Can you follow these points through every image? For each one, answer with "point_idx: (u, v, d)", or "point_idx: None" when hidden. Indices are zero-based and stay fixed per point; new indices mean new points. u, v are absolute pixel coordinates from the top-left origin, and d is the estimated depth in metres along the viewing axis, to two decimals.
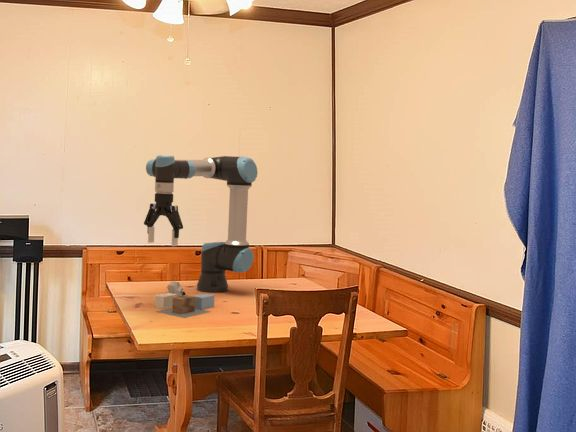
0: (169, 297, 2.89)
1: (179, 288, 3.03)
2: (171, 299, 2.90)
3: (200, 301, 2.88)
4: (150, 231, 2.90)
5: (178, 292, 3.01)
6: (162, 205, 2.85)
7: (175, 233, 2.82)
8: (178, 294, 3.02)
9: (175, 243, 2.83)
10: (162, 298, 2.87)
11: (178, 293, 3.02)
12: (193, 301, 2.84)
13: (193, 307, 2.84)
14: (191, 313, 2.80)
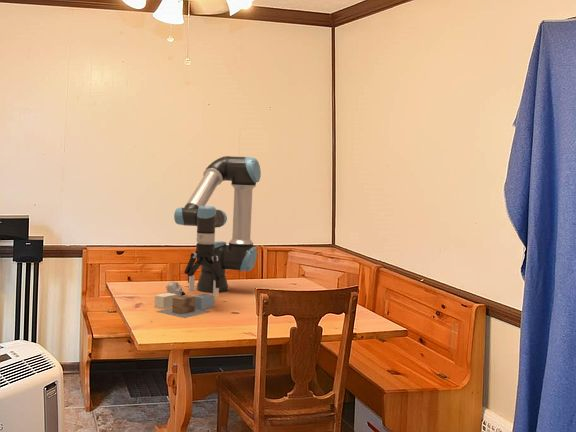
0: (169, 297, 2.89)
1: (178, 288, 3.03)
2: (171, 299, 2.90)
3: (200, 301, 2.88)
4: (191, 280, 2.95)
5: (177, 292, 3.01)
6: (203, 255, 2.90)
7: (216, 283, 2.87)
8: (177, 294, 3.01)
9: (216, 293, 2.88)
10: (162, 298, 2.87)
11: (177, 293, 3.01)
12: (193, 301, 2.84)
13: (193, 307, 2.84)
14: (191, 313, 2.80)
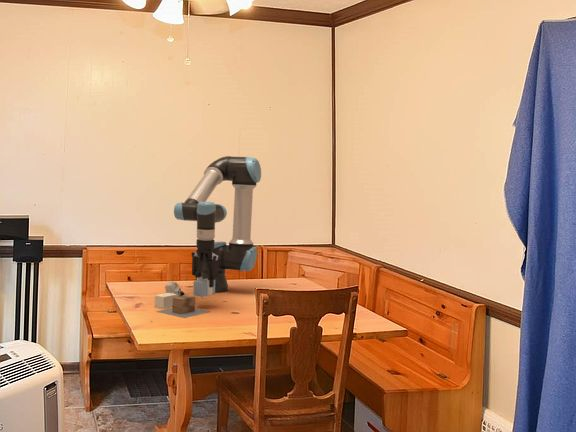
0: (169, 297, 2.89)
1: (177, 288, 3.03)
2: (171, 299, 2.90)
3: (201, 286, 2.88)
4: None
5: (175, 292, 3.01)
6: (204, 251, 2.90)
7: (210, 282, 2.90)
8: None
9: (210, 292, 2.91)
10: (162, 298, 2.87)
11: (175, 293, 3.01)
12: (193, 301, 2.84)
13: (193, 307, 2.84)
14: (191, 313, 2.80)
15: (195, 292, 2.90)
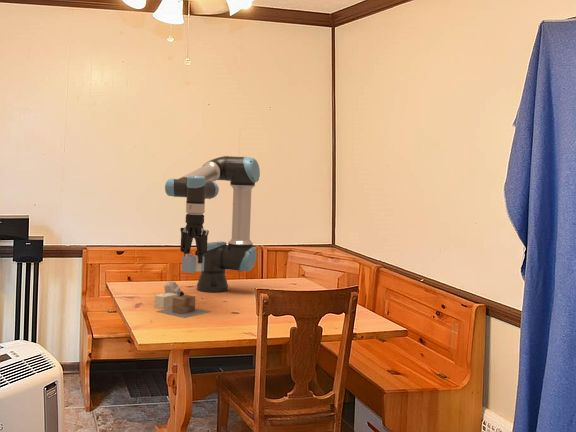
0: (169, 297, 2.89)
1: (176, 288, 3.02)
2: (171, 299, 2.90)
3: (189, 262, 2.81)
4: None
5: (175, 292, 3.01)
6: (193, 226, 2.83)
7: (199, 258, 2.82)
8: None
9: (199, 268, 2.83)
10: (162, 298, 2.87)
11: (175, 293, 3.01)
12: (193, 301, 2.84)
13: (193, 307, 2.84)
14: (191, 313, 2.80)
15: (183, 268, 2.83)
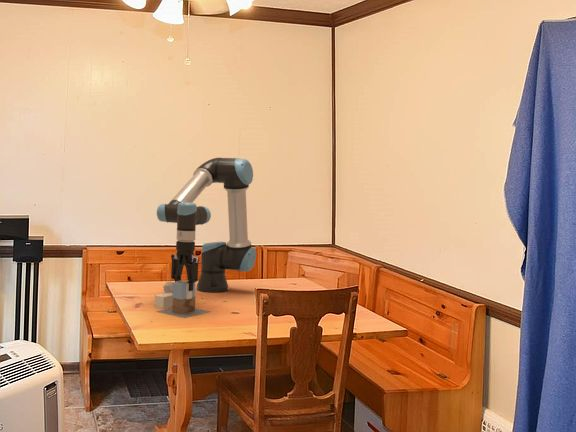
0: (169, 297, 2.89)
1: None
2: (171, 299, 2.90)
3: (180, 288, 2.78)
4: None
5: None
6: (184, 253, 2.80)
7: (189, 286, 2.79)
8: None
9: (189, 296, 2.80)
10: (162, 298, 2.87)
11: None
12: (193, 301, 2.84)
13: (193, 307, 2.84)
14: (191, 313, 2.80)
15: (174, 294, 2.80)
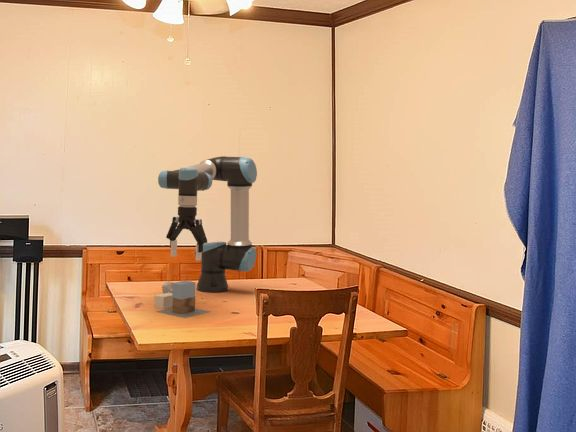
0: (169, 297, 2.89)
1: None
2: (171, 299, 2.90)
3: (180, 288, 2.78)
4: (173, 245, 2.84)
5: (172, 292, 3.00)
6: (185, 219, 2.79)
7: (199, 247, 2.76)
8: None
9: (199, 257, 2.78)
10: (162, 298, 2.87)
11: None
12: (193, 301, 2.84)
13: (193, 307, 2.84)
14: (191, 313, 2.80)
15: (174, 294, 2.80)
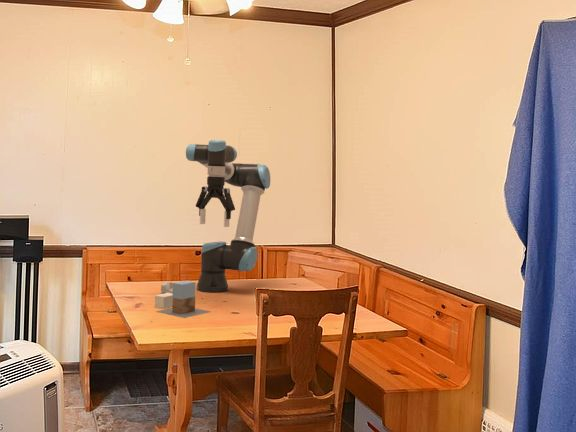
0: (169, 297, 2.89)
1: (172, 288, 3.02)
2: (171, 299, 2.90)
3: (180, 288, 2.78)
4: (202, 213, 3.03)
5: (170, 292, 3.00)
6: (214, 188, 2.98)
7: (227, 214, 2.95)
8: None
9: (227, 224, 2.96)
10: (162, 298, 2.87)
11: None
12: (193, 301, 2.84)
13: (193, 307, 2.84)
14: (191, 313, 2.80)
15: (174, 294, 2.80)
